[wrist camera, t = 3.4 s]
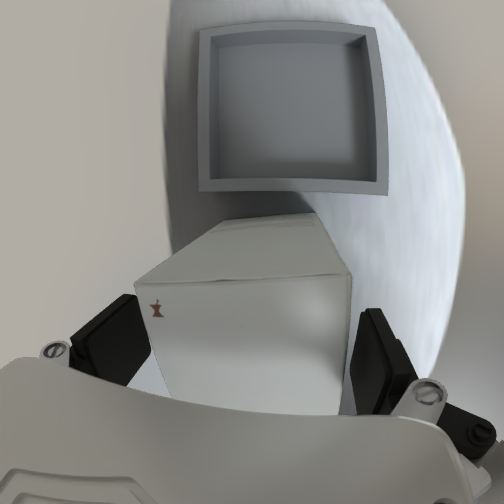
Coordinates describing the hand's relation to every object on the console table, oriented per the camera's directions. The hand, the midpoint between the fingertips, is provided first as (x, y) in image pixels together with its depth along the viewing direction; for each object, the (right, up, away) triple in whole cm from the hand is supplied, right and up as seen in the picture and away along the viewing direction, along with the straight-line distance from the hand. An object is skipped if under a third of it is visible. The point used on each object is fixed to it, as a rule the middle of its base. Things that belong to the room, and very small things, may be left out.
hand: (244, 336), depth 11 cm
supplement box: (+2, +3, +10) cm, 11 cm away
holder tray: (+3, +14, +7) cm, 16 cm away
